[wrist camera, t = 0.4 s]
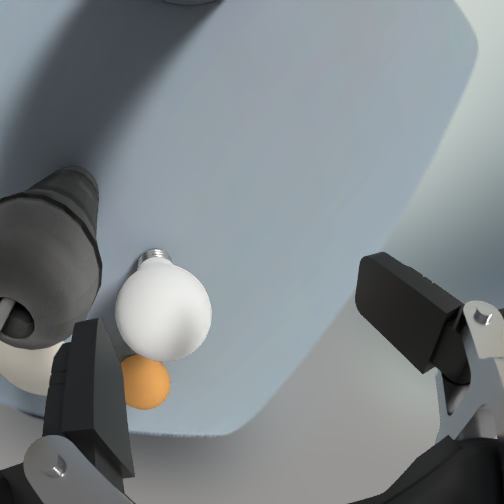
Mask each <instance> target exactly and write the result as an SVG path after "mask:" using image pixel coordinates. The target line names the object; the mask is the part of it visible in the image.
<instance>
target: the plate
mask: <svg viewBox="0 0 504 504" xmlns="http://www.w3.org/2000/svg"><path fill="white" fill-rule="evenodd" d="M63 343H65V342H64V341H62V342H60V343H58V344H56V345H54V346H52V347H49V348H44V349H37V350H28V349H22V348H15V347H13V346H10V345H8V344H6V343H3V342H2V341H0V374H1V375H2V376H3V377H4V378H5V379H6V380H7V381H9V382H10V383H11V384H13V385H15V386H16V387H18V388H20V389H22V390H24V391H27V392H30V393H33V394H37V395H43V396H47V393H48V388H49V380H50V375H51V368H52V363H53V358H54V356H55V354H56V353H57V351H58V350H59V348H60V347H61V345H62V344H63Z"/></svg>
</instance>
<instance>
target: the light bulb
mask: <svg viewBox="0 0 504 504" xmlns="http://www.w3.org/2000/svg"><path fill="white" fill-rule="evenodd" d="M115 318H116V323H117V328H118V330H119V332H120V334H121V336H122V338H123V340H124V341H125V342H126V343H127V345H128V346H129V347H130V348H131V349H132V350H134V351H135V352H136V353H137V354H139V355H141V356H143V357H145V358H147V359H150V360H154V361H160V362H169V361H175V360H179V359H182V358H184V357H186V356H188V355H190V354H191V353H193V352H194V351H195V350H196V349H197V348H198V347H199V346H200V345H201V344H202V342H203V341H204V339H205V337H206V335H207V333H208V331H209V328H210V324H211V305H210V301H209V297H208V295H207V293H206V291H205V289H204V287H203V285H202V284H201V283H200V282H199V281H198V279H197V278H196V277H194V276H193V275H192V274H191V273H189V272H188V271H186V270H184V269H182V268H180V267H177V266H174V265H173V264H172V260H171V257H170V256H169V254H168V253H167V252H165V251H163V250H161V249H157V248H153V249H148V250H147V251H145V252H144V253H143V254H142V255H141V257H140V258H139V261H138V269H137V271H136V272H135V273H134V274H132V275H131V276H130V277H129V278H128V279H127V280H126V281H125V282H124V284H123V286H122V287H121V289H120V291H119V293H118V296H117V299H116V304H115Z"/></svg>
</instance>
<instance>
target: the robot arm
mask: <svg viewBox="0 0 504 504" xmlns="http://www.w3.org/2000/svg"><path fill="white" fill-rule="evenodd" d="M164 1H166V2H170V3H175V4H181V5H196V4H204V3H209V2H212V1H215V0H164ZM355 302H356V306H357V309H358V311H359V312H360V314H361V315H362V316H363V317H364V318H365V319H367V320H368V321H369V322H370V323H371V324H372V325H373V326H374V327H375V328H376V329H377V330H378V331H379V332H380V333H381V334H382V335H383V336H384V337H385V338H386V339H387V340H388V341H389V342H390V343H391V344H392V345H393V346H394V347H395V348H397V350H398V351H400V352H401V353H402V354H403V355H404V356H405V357H406V358H407V359H408V360H409V361H410V362H411V363H412V364H413V365H414V366H415V367H416V368H417V369H418V370H419V371H420V372H421V373H422V374H424V373H425V372H427V371H429V370H430V369H432V368H433V367H437V368H438V370H437V373H436V377H435V378H436V386H437V394H438V403H439V412H440V429H439V432H438V435H437V438H436V442H435V445H434V446H433V447H431V448H430V449H429V450H427V451H426V452H425V453H423V454H422V455H421V456H419V457H418V458H417V459H416V460H415V461H414V462H413V463H412V464H411V465H410V466H409V468H408V469H407V470H406V471H405V472H404V473H403V474H402V475H401V476H400V477H399V478H398V480H396V482H395V483H394V484H393V485H392V486H391V487H390V488H389V489H388V490H386V491H385V492H384V493H382V494H380V495H377V496H374V497H371V498H367V499H364V500H360V501H357V502H353V503H349V504H504V309H499V310H497V309H496V308H495V307H494V306H492V305H490V304H488V303H486V302H483V301H470V302H468V303H466V304H463V303H462V302H460V301H459V300H458V299H456V298H455V297H453V296H452V295H450V294H449V293H448V292H446V291H445V290H443V289H442V288H441V287H439V286H438V285H436V284H435V283H432V281H431V280H429V279H428V278H426V277H423V275H422V274H420V273H419V272H417V271H416V270H414V269H413V268H411V267H408V266H406V265H404V264H402V263H401V262H399V261H398V260H396V259H395V258H393V257H391V256H390V255H388V254H387V253H385V252H380V253H376V254H372V255H369V256H365V257H363V258H362V259H361V261H360V265H359V273H358V280H357V288H356V295H355ZM496 435H497V438H498V439H493V438H494V437H495V436H496ZM130 477H135V473H134V467H133V461H132V455H131V448H130V440H129V432H128V423H127V413H126V402H125V389H124V377H123V371H122V367H121V364H120V361H119V358H118V356H117V353H116V351H115V349H114V346H113V344H112V342H111V339H110V337H109V334H108V332H107V329H106V327H105V324H104V322H103V320H102V319H101V318H96V319H91V320H85V321H80V322H76V323H75V324H74V329H73V334H72V340H71V342H68V343H63V344H62V345H61V347H60V348H59V350H58V351H57V353H56V354H55V356H54V358H53V363H52V368H51V375H50V380H49V388H48V393H47V400H46V407H45V416H44V425H43V435H42V438H40V439H38V440H36V441H35V442H34V443H33V444H32V445H31V446H30V447H29V449H28V450H27V452H26V454H25V457H24V462H23V463H21V464H18V465H15V466H12V467H9V468H7V469H4V470H0V504H136V503H135V502H134V501H133V500H131V499H130V498H129V497H128V496H127V495H126V494H125V492H124V486H123V479H122V478H130Z"/></svg>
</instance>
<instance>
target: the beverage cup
mask: <svg viewBox="0 0 504 504" xmlns="http://www.w3.org/2000/svg"><path fill="white" fill-rule="evenodd" d="M98 193H99V192H98V186H97V183H96V181H95V179H94V177H93V176H92V175H91V174H90V173H89V172H88V171H87V170H85V169H83V168H81V167H76V166H69V167H65V168H62V169H60V170H57V171H56V172H54V173H52V174H51V175H49V176H48V177H46V178H44V179H43V180H41V181H40V182H38V183H37V184H35V185H34V186H32V187H31V188H29V189H28V190H26V191H25V192H21V193H18V194H15V195H11V196H8V197H4V198H1V199H0V341H2V342H3V343H6V344H8V345H10V346H13V347H15V348H22V349H28V350H37V349H44V348H49V347H52V346H54V345H56V344H58V343H60V342H62V341H64V340H65V339H67V338H68V337H70V336H71V335H72V334H73V329H74V324H75V323H76V322H80V321H84V320H85V319H86V317H87V315H88V313H89V311H90V308H91V306H92V304H93V302H94V300H95V298H96V295H97V293H98V291H99V288H100V286H101V278H102V261H101V257H100V254H99V250H98V245H97V241H96V229H97V214H98V202H99V197H98Z"/></svg>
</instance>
